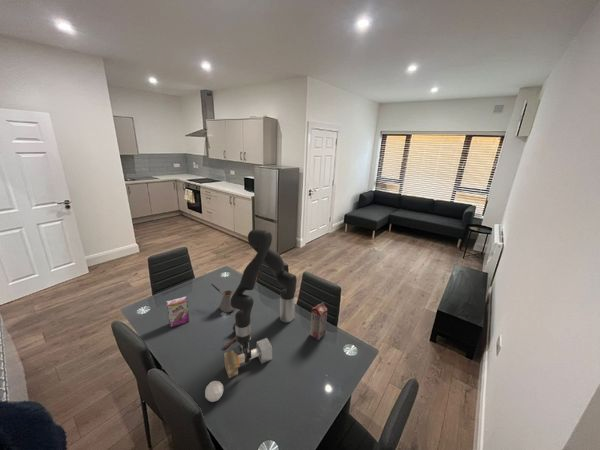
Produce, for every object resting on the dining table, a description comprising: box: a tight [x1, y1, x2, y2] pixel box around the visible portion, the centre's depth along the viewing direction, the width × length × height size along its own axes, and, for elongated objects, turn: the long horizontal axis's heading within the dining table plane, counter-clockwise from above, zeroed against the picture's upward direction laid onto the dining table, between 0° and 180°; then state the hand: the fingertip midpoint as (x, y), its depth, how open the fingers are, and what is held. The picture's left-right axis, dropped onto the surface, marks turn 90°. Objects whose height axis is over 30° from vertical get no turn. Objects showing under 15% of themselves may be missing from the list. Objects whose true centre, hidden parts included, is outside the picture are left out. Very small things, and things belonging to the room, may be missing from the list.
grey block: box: [256, 337, 273, 365], centre depth 129 cm, size 6×7×8 cm
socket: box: [223, 349, 239, 379], centre depth 120 cm, size 4×8×9 cm, turn 31°
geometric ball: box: [204, 380, 224, 403], centre depth 107 cm, size 8×8×8 cm
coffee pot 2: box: [222, 322, 236, 350], centre depth 141 cm, size 8×18×8 cm
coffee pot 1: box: [210, 283, 235, 313], centre depth 167 cm, size 21×12×15 cm, turn 61°
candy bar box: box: [165, 296, 190, 328], centre depth 149 cm, size 11×5×16 cm, turn 123°
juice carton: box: [309, 301, 328, 341], centre depth 144 cm, size 7×7×22 cm
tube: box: [234, 347, 261, 369], centre depth 125 cm, size 18×7×7 cm, turn 121°
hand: (244, 356), depth 123 cm, fingers open, 8 cm apart
